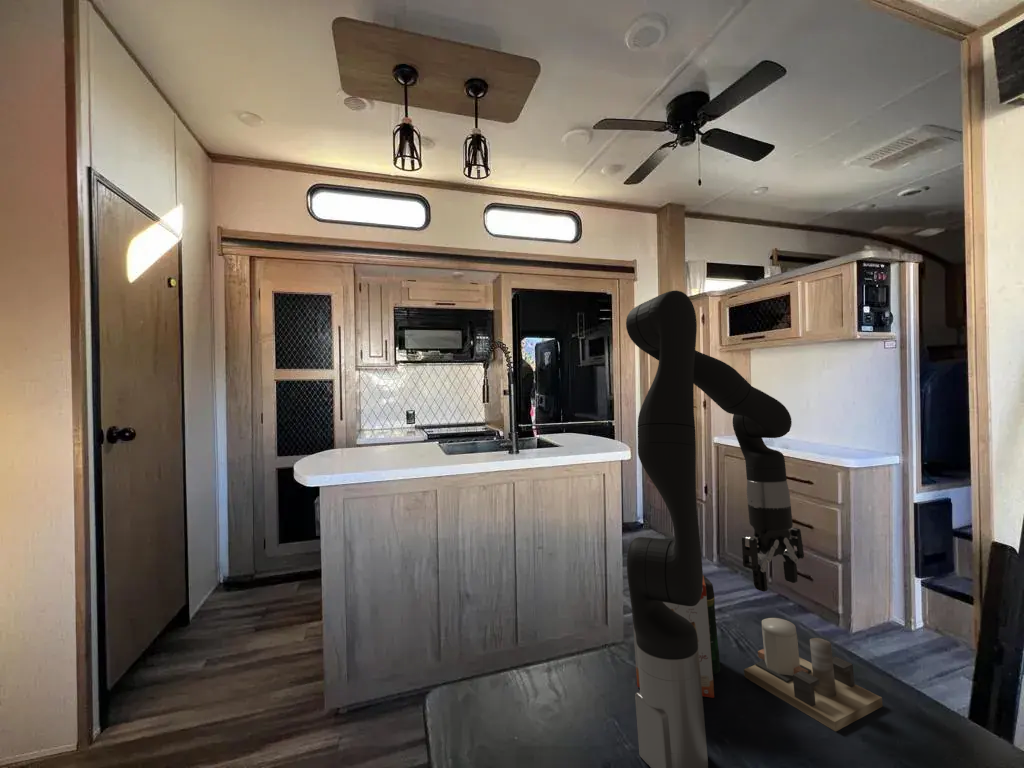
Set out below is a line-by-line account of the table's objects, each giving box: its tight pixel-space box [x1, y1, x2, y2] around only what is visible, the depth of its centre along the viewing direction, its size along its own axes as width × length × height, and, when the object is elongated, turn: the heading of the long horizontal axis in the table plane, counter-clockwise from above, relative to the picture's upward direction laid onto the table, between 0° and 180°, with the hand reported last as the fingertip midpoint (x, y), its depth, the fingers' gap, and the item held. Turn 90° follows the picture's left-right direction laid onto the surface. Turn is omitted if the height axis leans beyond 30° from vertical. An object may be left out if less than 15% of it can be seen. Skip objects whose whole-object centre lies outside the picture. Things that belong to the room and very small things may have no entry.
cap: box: [757, 617, 808, 676], centre depth 88 cm, size 9×6×8 cm, turn 26°
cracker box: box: [632, 574, 715, 699], centre depth 88 cm, size 14×6×21 cm, turn 71°
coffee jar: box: [704, 575, 721, 676], centre depth 94 cm, size 10×8×19 cm
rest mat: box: [754, 659, 812, 683], centre depth 88 cm, size 7×7×1 cm
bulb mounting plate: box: [743, 637, 884, 732], centre depth 83 cm, size 13×17×10 cm
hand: (776, 585), depth 88 cm, fingers open, 8 cm apart
